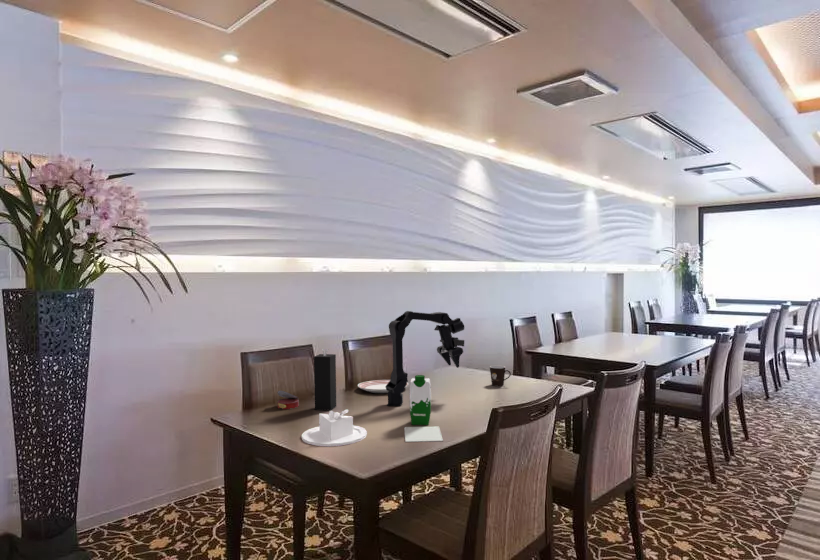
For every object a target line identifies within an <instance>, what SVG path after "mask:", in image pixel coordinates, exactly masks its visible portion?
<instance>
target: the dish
mask: <svg viewBox="0 0 820 560" xmlns="http://www.w3.org/2000/svg"><path fill="white" fill-rule="evenodd" d="M347 413H349V409H348V408H347V409H344V410H342V411H341V412H338V411H336V412H335V411H334V410H329V411H328V413H319V415H318V419H319V420H318V422H319V424H318V426H315V427H312V428H308V429H306V430H305V431H304V432H303V433H302V434H301V439H302V442H303V443H305V444H308V445H313V446H317V447H341V446H346V445H352V444H355V443H356V444H357V443H358V442H361V441H363V440H364V439H365V438H366V437H367V435H368V431H367V430H366V428H365V427H362V426H359V425H354V416H351V415H345V414H347Z"/></svg>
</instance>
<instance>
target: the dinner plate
mask: <svg viewBox="0 0 820 560" xmlns="http://www.w3.org/2000/svg"><path fill="white" fill-rule="evenodd" d="M389 382H390V379H377V380H375V379H374V380H369V381H363V382H360V383H358V384H357V387H358V388H359V389H361V390H363V391H365V392H368V393H373V394H388V391H387V390H386V385H387V384H388V383H389ZM408 386H410V383H409V382H407V385H406V386H405V388H407V387H408Z"/></svg>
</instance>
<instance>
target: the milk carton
mask: <svg viewBox="0 0 820 560" xmlns="http://www.w3.org/2000/svg"><path fill="white" fill-rule="evenodd" d="M431 389H432V384H431V379H430V377H428V378H425V375H423V374H417V375H415V376H414V377H412V378H411V379H410V382H409V414H410V415H409V416H410V421H411V426H429V425H430V420H431V413H432V390H431Z"/></svg>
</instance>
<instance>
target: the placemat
mask: <svg viewBox="0 0 820 560" xmlns="http://www.w3.org/2000/svg"><path fill="white" fill-rule="evenodd" d="M403 429H404V440H405V441H404V442H405V443H417V442H418V443H419V442H420V443H422V442H424V443H426V442H429V443H431V442H444V439H443V437H442V435H443V434H442V432H441V429H440V426H438V425H437V426H436V425H435V426H405V427H404V428H403Z"/></svg>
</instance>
